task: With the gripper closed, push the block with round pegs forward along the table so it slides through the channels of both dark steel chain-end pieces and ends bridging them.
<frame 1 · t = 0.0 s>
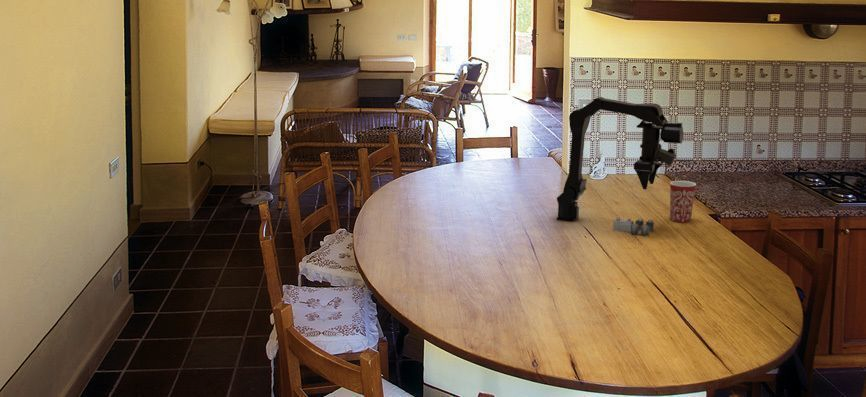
hand: (648, 186, 300), 15 cm above the table, fingers open, 9 cm apart
chain end A: (636, 231, 299), on the table
block with round pegs: (623, 230, 301), on the table
chain end B: (647, 232, 298), on the table
mug: (679, 219, 316), on the table
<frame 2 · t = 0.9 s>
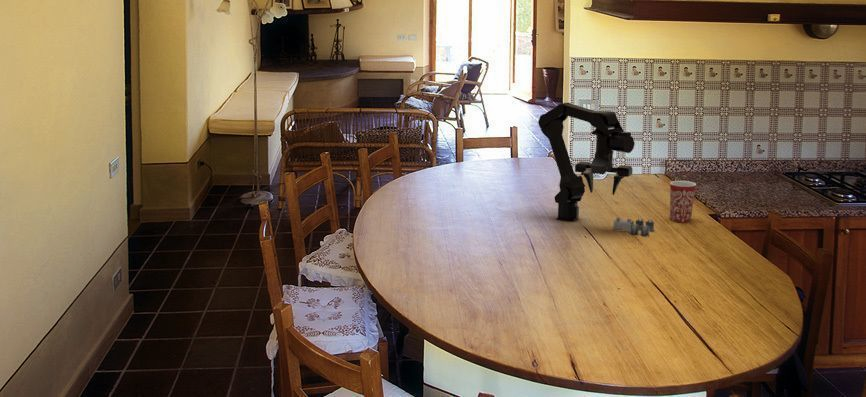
hand: (602, 193, 302), 12 cm above the table, fingers open, 7 cm apart
nothing on the table moved.
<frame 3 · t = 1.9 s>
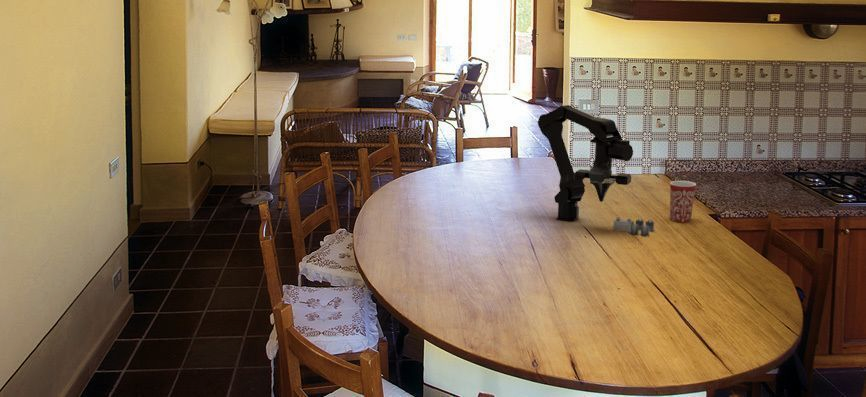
hand: (601, 201, 303), 9 cm above the table, fingers closed
nothing on the table moved.
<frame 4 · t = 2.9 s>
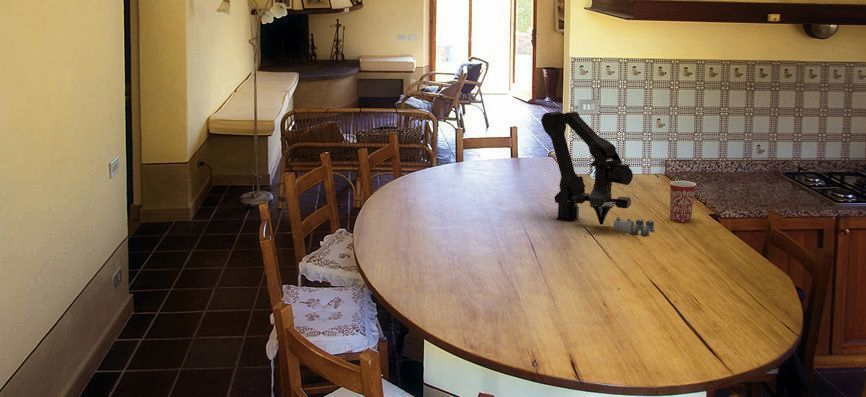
hand: (601, 224, 305), 1 cm above the table, fingers closed
nothing on the table moved.
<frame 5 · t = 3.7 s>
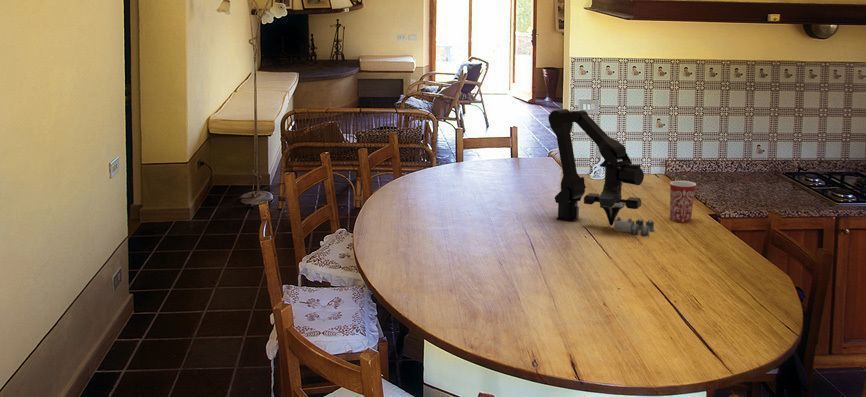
hand: (611, 225, 303), 1 cm above the table, fingers closed
block with round pegs: (623, 230, 301), on the table, touching gripper
everything else where it was.
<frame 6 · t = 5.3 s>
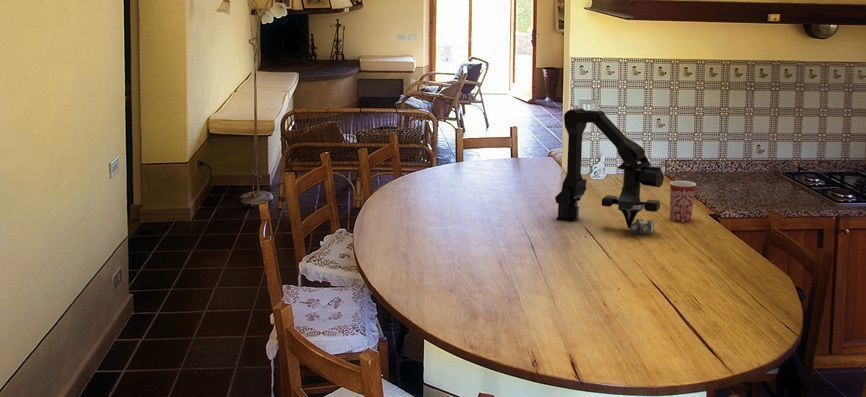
hand: (629, 227, 300), 1 cm above the table, fingers closed
block with round pegs: (642, 232, 299), on the table, touching gripper
everything else where it was.
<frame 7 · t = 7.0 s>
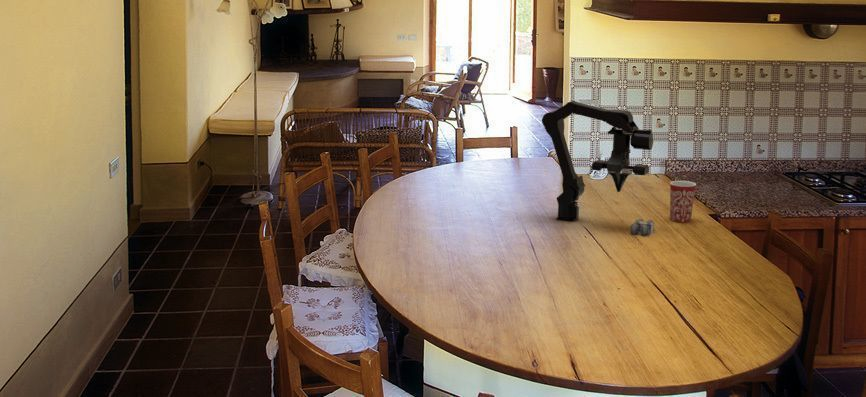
hand: (618, 191, 305), 12 cm above the table, fingers closed
block with round pegs: (642, 232, 299), on the table
everything else where it was.
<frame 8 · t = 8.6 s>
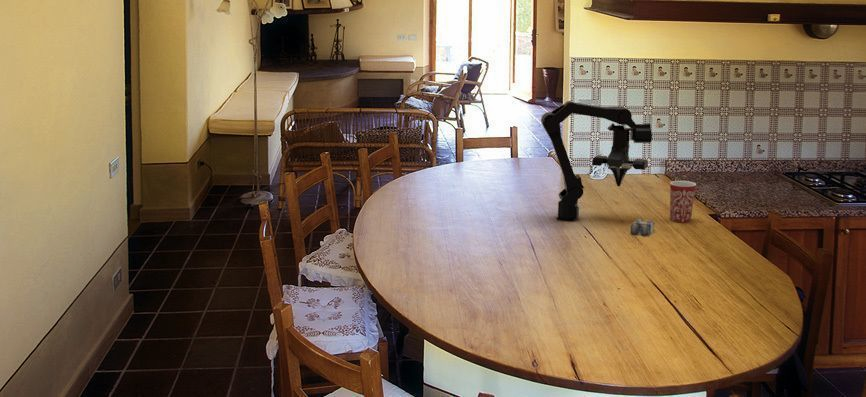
hand: (618, 186, 313), 12 cm above the table, fingers closed
nothing on the table moved.
at the end: block with round pegs 0.4 cm from the target spot, on the table; block with round pegs tilted 0° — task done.
